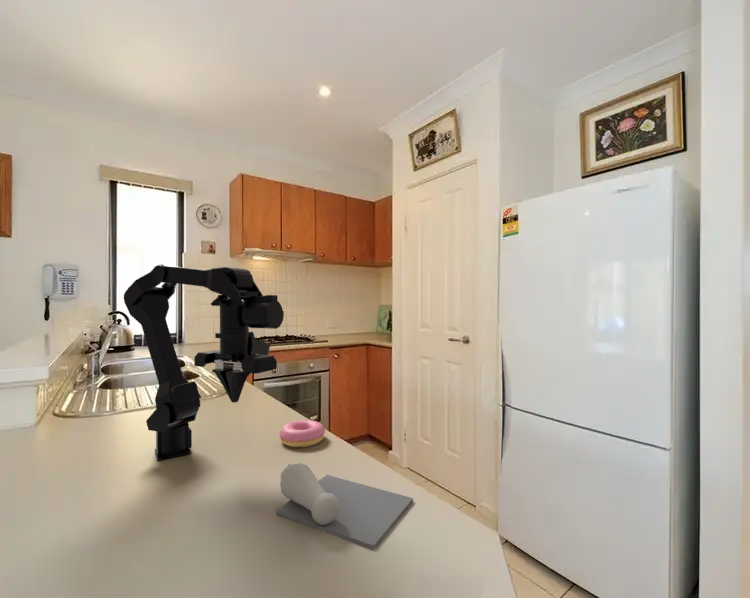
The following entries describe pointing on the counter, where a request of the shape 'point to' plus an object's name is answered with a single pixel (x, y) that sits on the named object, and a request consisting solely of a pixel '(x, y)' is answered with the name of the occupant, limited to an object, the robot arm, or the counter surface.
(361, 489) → the mat
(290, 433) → the doughnut
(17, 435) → the counter surface
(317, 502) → the salt shaker
